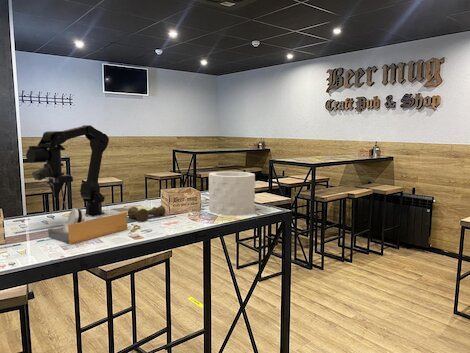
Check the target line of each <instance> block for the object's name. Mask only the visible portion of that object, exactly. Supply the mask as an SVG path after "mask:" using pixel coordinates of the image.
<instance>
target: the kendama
mask: <svg viewBox="0 0 470 353" xmlns="http://www.w3.org/2000/svg"><path fill="white" fill-rule="evenodd" d="M165 214H166V208H165V206H164V205H159V206H157V207H156V206H153V207H152V208H151V209H148V210H147V209H146V208H141V209H138V207H136V206H131V207H130V208H129V209H127V217H128V218H129V219H131V218H132V219H136V220H137V221H138V222H140V223H141V222H142V223H143V222H146V221H147V220H148V218H149V215H151V216H153V217H156V216H162V217H163V216H165Z"/></svg>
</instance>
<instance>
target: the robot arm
mask: <svg viewBox="0 0 470 353" xmlns="http://www.w3.org/2000/svg"><path fill="white" fill-rule="evenodd" d="M83 136H84V137H85V138H86V140H88V141H89V147H90V149H91V154H90V160H89V165H88V172H87V177H86V178H87V179H86V181H85V182H81V184H80V190H79V192H80V196H81V198H82V200H83V202H85V203H86V204H85V212H84V214H85V216H89V217H95V216H96V217H97V216H100V215H104V214H105V212H103V207H102V206H103V204H102V203H104V202H105V198H106V197H105V196H104V195H102V193H101V187H100V184H99V178H100V176H99V175H100V170H101V165H102V158H103V153H104V152H105V150H106V149H107V148H108V145H109V141H110V138H109V136H108V135H107V134H106V133H103V132H102V131H100V130H99V129H97V128H95V127H94V126H93V125H91V124H90V125H88V124H87V125H86V124H84V125H81V126H77V127H73V128H69V129H65V130H55V131H54V130H52V131H45V132H43V134H42V138H41V139H40V140H39V142H38V143H37V145H29V146H28V149H27V151H26V154H25V156H26V157H25V158H26V160H27V161H28V162H29V163H31V164H36V163H43V167H42V168H39V169H37V170H34V171H32V172H31V175H32V177H33V178H34V181H42V180H44V183H45V184H47V185H48V187H49V188H50V190H51V193H52V196H53V198H58V197H59V195H60V192H61V190H62V189H63V187H64V185H65V183H72V182H74V177H73V176H72V175H70V174H65V173H64V172H63V171H62V170H63V169H62V167H64V163H62V152H61V151H65V150H66V147H64V146H63V145H62V144H64V143H66V142H67V141H68V140H71V139H75V138H78V137H83Z"/></svg>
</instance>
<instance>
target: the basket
mask: <svg viewBox="0 0 470 353" xmlns="http://www.w3.org/2000/svg"><path fill="white" fill-rule="evenodd" d="M255 187H256V174H255V173H252V172H247V171H234V170H233V171H229V170H228V171H213V172H211V171H210V172H209V173H208V211H209V212H210V213H212V214H215V213H216V214H215V215H220V214H221V215H223V216H231V215H232V216H245V215H248V214H249V213H250V214H252V212H253V213H254V212H255V211H256V204H255V199H256V192H255ZM244 214H245V215H244ZM250 214H249V215H250Z"/></svg>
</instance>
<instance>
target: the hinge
mask: <svg viewBox="0 0 470 353" xmlns="http://www.w3.org/2000/svg"><path fill="white" fill-rule="evenodd" d="M84 221H86V215H85V212H84V210H82V209H78V208H71V210H70V212H69V215H68V217H67V221H66V222H64V223H62V227H61V228H62V232H65V233H68V225H70V224H75V223H79V222H84Z"/></svg>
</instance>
